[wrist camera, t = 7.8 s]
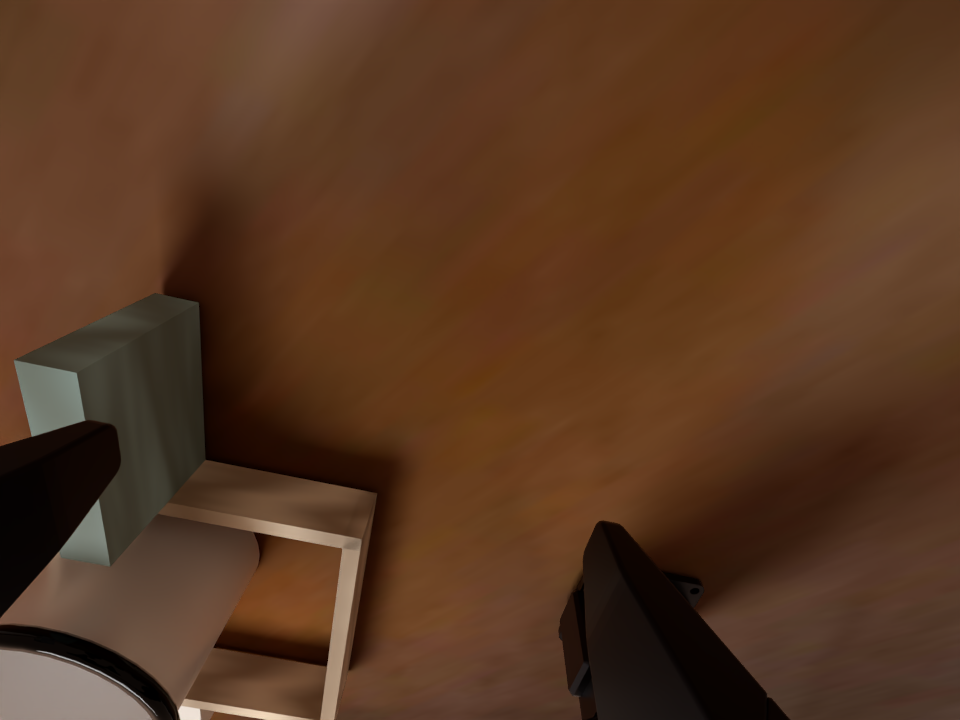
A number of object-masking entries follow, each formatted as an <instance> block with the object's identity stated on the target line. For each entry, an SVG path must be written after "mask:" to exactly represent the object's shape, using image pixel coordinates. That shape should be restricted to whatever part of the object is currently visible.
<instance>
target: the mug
mask: <svg viewBox="0 0 960 720" xmlns="http://www.w3.org/2000/svg"><path fill="white" fill-rule="evenodd" d="M259 557H260V553H259V546H258V542H257V540H256V537H255V535H254V533H253V532H252V531H247V530H241V529H236V528H231V527H225V526H220V525H215V524H209V523H204V522H198V521H193V520H188V519H182V518H177V517H172V516H166V515H161V514H157V515H156V516H155V517H154V518H153V519H152V521H151V522H150V523H149V524H148V525H147V526H146V527H145V528H144V530H143V531H142V532H141V533H140V534H139V535H138V536H137V537H136V539H135V540H134V541H133V542H132V543H131V544H130V545H129V546H128V548H127V549H126V550H125V551H124V552H123V553H122V554H121V555H120V557H119V558H118V559H117V560H116V561H115V562H114V563H113V564H112V566H111V567H109V566H104V565H98V564H92V563H87V562H81V561H76V560H70V559H64V558H61V556H60V552H58V553H57V555H56V556H55V557H54V558H53V559H52V560H51V562H50V563H49V564H48V565H47V566H46V567H45V568H44V570H43V571H42V572H41V573H40V574H39V575H38V576H37V577H36V579H35V580H34V581H33V582H32V583H31V584H30V585H29V586H28V588H27V589H26V590H25V591H24V592H23V593H22V594H21V595H20V597H19V598H18V599H17V600H16V601H15V602H14V603H13V604H12V606H11V607H10V608H9V609H8V610H7V611H6V612H5V613H4V615H3V616H2V617H1V618H0V720H181V719H180V715H179V712H178V710H179V708H180V706H181V705H182V703H183V701H184V699H185V697H186V696H187V694H188V692H189V690H190V688H191V687H192V685H193V683H194V681H195V679H196V678H197V676H198V674H199V672H200V670H201V669H202V667H203V665H204V663H205V661H206V660H207V658H208V656H209V654H210V652H211V651H212V649H213V647H214V645H215V643H216V642H217V640H218V638H219V636H220V634H221V633H222V631H223V629H224V627H225V625H226V624H227V622H228V620H229V618H230V616H231V614H232V613H233V611H234V609H235V607H236V605H237V604H238V602H239V600H240V598H241V596H242V595H243V593H244V591H245V589H246V587H247V586H248V584H249V582H250V580H251V578H252V577H253V575H254V573H255V571H256V569H257V567H258V563H259Z"/></svg>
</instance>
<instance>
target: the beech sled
mask: <svg viewBox="0 0 960 720" xmlns="http://www.w3.org/2000/svg"><path fill="white" fill-rule="evenodd" d="M14 363H15V367H16V371H17V375H18V379H19V384H20V388H21V392H22V396H23V400H24V405H25V409H26V413H27V417H28V422H29V426H30V430H31V434H32V437H33V436H36V435H39V434H42V433H46V432H49V431H52V430H56V429H59V428H62V427H66V426H69V425H72V424H75V423H79V422H82V421H86V420H95V421H100V422H105V423H110V424H112V425H114V426H115V427H116V429H117V432H118V439H119V447H120V454H121V465H120V468H119V471H118V473H117V474H116V476H115V477H114V478H113V480H112V481H111V483H110V484H109V485H108V487H107V488H106V489H105V491H104V492H103V493H102V495H101V496H100V498H99V499H98V500H97V502H96V503H95V504H94V506H93V507H92V508H91V510H90V511H89V513H88V514H87V515H86V517H85V518H84V519H83V521H82V522H81V524H80V525H79V526H78V528H77V529H76V530H75V532H74V533H73V534H72V536H71V537H70V538H69V540H68V541H67V542H66V543H65V545H64V546H63V547H62V549H61V550H60V551H59V552H60V556H61V558H64V559H70V560H76V561H81V562H87V563H92V564H98V565H104V566H109V567H111V566H112V564H113V563H114V562H115V561H116V560H117V559H118V558H119V557H120V555H121V554H122V553H123V552H124V551H125V550H126V549H127V548H128V546H129V545H130V544H131V543H132V542H133V541H134V540H135V539H136V537H137V536H138V535H139V534H140V533H141V532H142V531H143V530H144V528H145V527H146V526H147V525H148V524H149V523H150V522H151V521H152V519H153V518H154V517H155V516H156V515H157V514H161V515H166V516H172V517H177V518H182V519H188V520H193V521H198V522H204V523H209V524H215V525H220V526H225V527H231V528H236V529H241V530H247V531H252V532H257V533H263V534H268V535H274V536H279V537H284V538H290V539H295V540H300V541H306V542H311V543H317V544H322V545H327V546H333V547H338V548H343V549H342V557H341V565H340V572H339V580H338V588H337V595H336V603H335V611H334V618H333V626H332V634H331V641H330V649H329V657H328V664H327V667H323V666H317V665H311V664H305V663H299V662H294V661H288V660H282V659H276V658H270V657H264V656H258V655H252V654H246V653H241V652H235V651H229V650H223V649H217V648H213V649H212V651H211V652H210V654H209V656H208V658H207V660H206V661H205V663H204V665H203V667H202V669H201V670H200V672H199V674H198V676H197V678H196V679H195V681H194V683H193V685H192V687H191V688H190V690H189V692H188V694H187V696H186V697H185V699H184V701H183V703H182V705H181V706H185V707H191V708H198V709H204V710H210V711H216V712H222V713H228V714H235V715H241V716H247V717H253V718H259V719H266V720H336V716H337V712H338V709H339V705H340V702H341V698H342V694H343V691H344V687H345V684H346V680H347V675H348V669H349V663H350V657H351V651H352V645H353V638H354V632H355V626H356V620H357V614H358V608H359V602H360V596H361V590H362V583H363V577H364V571H365V565H366V559H367V553H368V547H369V541H370V535H371V528H372V522H373V516H374V510H375V504H376V498H377V493H373V492H368V491H363V490H358V489H353V488H348V487H342V486H337V485H332V484H327V483H322V482H317V481H312V480H306V479H301V478H296V477H291V476H286V475H281V474H276V473H270V472H265V471H260V470H255V469H250V468H245V467H240V466H235V465H229V464H224V463H219V462H214V461H209V460H206V459H205V435H204V412H203V388H202V364H201V341H200V317H199V303H198V302H194V301H189V300H184V299H180V298H175V297H170V296H166V295H161V294H157V293H154V294H152V295H150V296H148V297H146V298H144V299H142V300H140V301H138V302H135V303H133V304H131V305H129V306H127V307H125V308H123V309H121V310H119V311H116V312H114V313H112V314H110V315H108V316H106V317H104V318H102V319H100V320H98V321H95V322H93V323H91V324H89V325H87V326H85V327H83V328H81V329H79V330H76V331H74V332H72V333H70V334H68V335H66V336H64V337H62V338H60V339H57V340H55V341H53V342H51V343H49V344H47V345H45V346H43V347H41V348H38V349H36V350H34V351H32V352H30V353H28V354H26V355H24V356H22V357H19V358H17V359H15V360H14Z"/></svg>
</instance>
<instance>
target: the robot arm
mask: <svg viewBox="0 0 960 720" xmlns="http://www.w3.org/2000/svg"><path fill="white" fill-rule="evenodd" d="M120 465H121V454H120V447H119V439H118V432H117V429H116V427H115V426H114V425H112V424H110V423H105V422H100V421H95V420H86V421H82V422H79V423H75V424H72V425H69V426H66V427H62V428H59V429H56V430H52V431H49V432H46V433H42V434H39V435H36V436H33V437H29V438H26V439H23V440H19V441H16V442H13V443H10V444H6V445H3V446H0V618H1V617H2V616H3V615H4V613H5V612H6V611H7V610H8V609H9V608H10V607H11V606H12V604H13V603H14V602H15V601H16V600H17V599H18V598H19V597H20V595H21V594H22V593H23V592H24V591H25V590H26V589H27V588H28V586H29V585H30V584H31V583H32V582H33V581H34V580H35V579H36V577H37V576H38V575H39V574H40V573H41V572H42V571H43V570H44V568H45V567H46V566H47V565H48V564H49V563H50V562H51V560H52V559H53V558H54V557H55V556H56V555H57V553H58V552H59V551H60V550H61V549H62V547H63V546H64V545H65V543H66V542H67V541H68V540H69V538H70V537H71V536H72V534H73V533H74V532H75V530H76V529H77V528H78V526H79V525H80V524H81V522H82V521H83V519H84V518H85V517H86V515H87V514H88V513H89V511H90V510H91V508H92V507H93V506H94V504H95V503H96V502H97V500H98V499H99V498H100V496H101V495H102V493H103V492H104V491H105V489H106V488H107V487H108V485H109V484H110V483H111V481H112V480H113V478H114V477H115V476H116V474H117V473H118V471H119V468H120ZM703 593H704V588H703V586H702V583H701V581H700V580H698V579H694V578H689V577H684V576H679V575H674V574H668V573H663V572H662V571H661V570H660V569H659V568H658V567H657V566H656V564H655V563H654V562H653V561H652V560H651V559H650V557H649V556H648V555H647V554H646V553H645V552H644V551H643V549H642V548H641V547H640V546H639V545H638V544H637V542H636V541H635V540H634V539H633V538H632V537H631V536H630V534H629V533H628V532H627V531H626V530H625V529H624V527H622V526H621V525H620V524H618V523H613V522H608V521H599V522H598V523H597V524H596V526H595V528H594V530H593V532H592V535H591V537H590V539H589V541H588V544H587V546H586V548H585V551H584V555H583V577H582V579H581V581H580V583H579V585H578V588H577V590H575V591H574V592H573V593H572V594H571V596H570V599H569V601H568V603H567V605H566V607H565V610H564V612H563V614H562V616H561V618H560V627H559V630H558V631H559V638H560V639H561V640H562V642H563V650H564V658H565V666H566V674H567V682H568V689H569V691H570V693H571V694H572V696H576V697H579V701H580V708H581V715H582V720H790V719H789V718H788V717H787V716H786V714H785V713H784V712H783V711H782V710H781V709H780V707H779V706H778V705H777V704H776V703H775V702H774V701H773V699H772V698H769V697H768V698H767V693H766V692H765V690H764V689H763V688H762V687H761V686H760V685H759V683H758V682H757V681H756V680H755V679H754V678H753V676H752V675H751V674H750V673H749V672H748V671H747V670H746V668H745V667H744V666H743V665H742V664H741V663H740V661H739V660H738V659H737V658H736V657H735V656H734V655H733V653H732V652H731V651H730V650H729V649H728V648H727V646H726V645H725V644H724V643H723V642H722V641H721V640H720V638H719V637H718V636H717V635H716V634H715V633H714V631H713V630H712V629H711V628H710V627H709V626H708V624H707V623H706V622H705V621H704V620H703V619H702V618H701V616H700V615H699V614H698V613H697V612H696V611H695V609H694V607H695V605H696V604H697V602H698V601H699V599H700V597H701V596H702V594H703Z"/></svg>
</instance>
